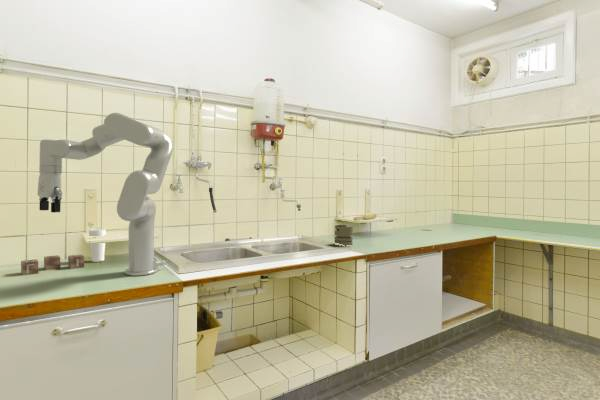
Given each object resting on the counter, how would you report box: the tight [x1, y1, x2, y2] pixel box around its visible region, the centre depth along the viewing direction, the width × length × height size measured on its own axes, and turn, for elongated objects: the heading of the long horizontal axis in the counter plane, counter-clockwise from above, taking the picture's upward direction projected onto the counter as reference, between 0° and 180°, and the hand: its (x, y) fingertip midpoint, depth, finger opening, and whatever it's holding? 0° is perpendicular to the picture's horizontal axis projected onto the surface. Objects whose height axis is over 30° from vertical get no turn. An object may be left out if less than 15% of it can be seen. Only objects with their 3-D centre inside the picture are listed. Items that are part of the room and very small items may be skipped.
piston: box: [333, 224, 354, 246], centre depth 216 cm, size 11×12×11 cm
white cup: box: [88, 228, 107, 263], centre depth 162 cm, size 7×7×15 cm
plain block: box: [43, 255, 61, 271], centre depth 147 cm, size 5×5×5 cm
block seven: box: [20, 259, 39, 276], centre depth 139 cm, size 5×5×5 cm
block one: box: [67, 254, 85, 270], centre depth 150 cm, size 5×5×5 cm
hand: (49, 211), depth 143 cm, fingers open, 9 cm apart
